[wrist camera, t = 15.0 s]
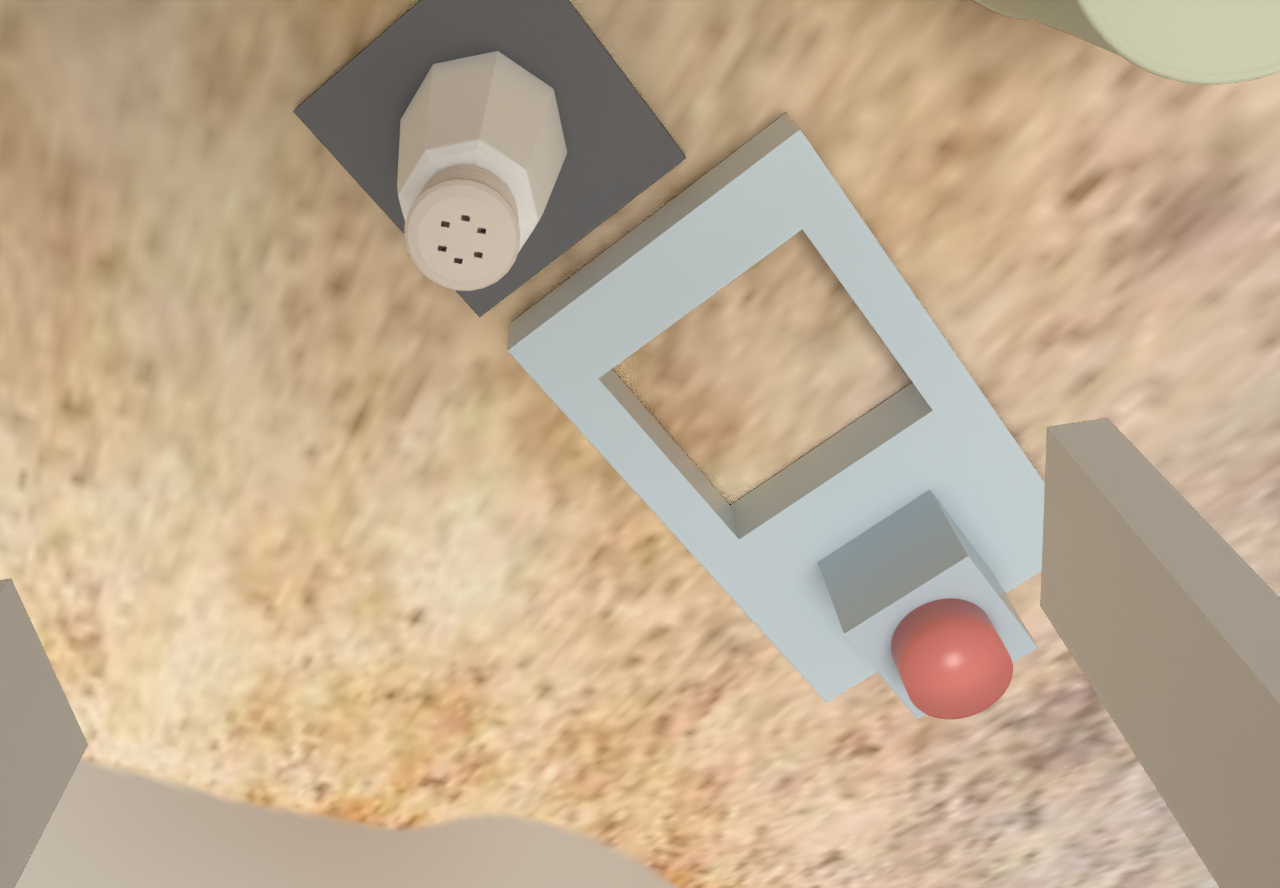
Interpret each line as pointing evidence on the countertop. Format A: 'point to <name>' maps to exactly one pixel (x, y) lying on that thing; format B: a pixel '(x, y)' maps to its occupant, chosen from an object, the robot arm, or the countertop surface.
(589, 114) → the mat
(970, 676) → the plunger
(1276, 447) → the countertop surface
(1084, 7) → the can
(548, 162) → the pepper shaker
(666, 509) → the frame
